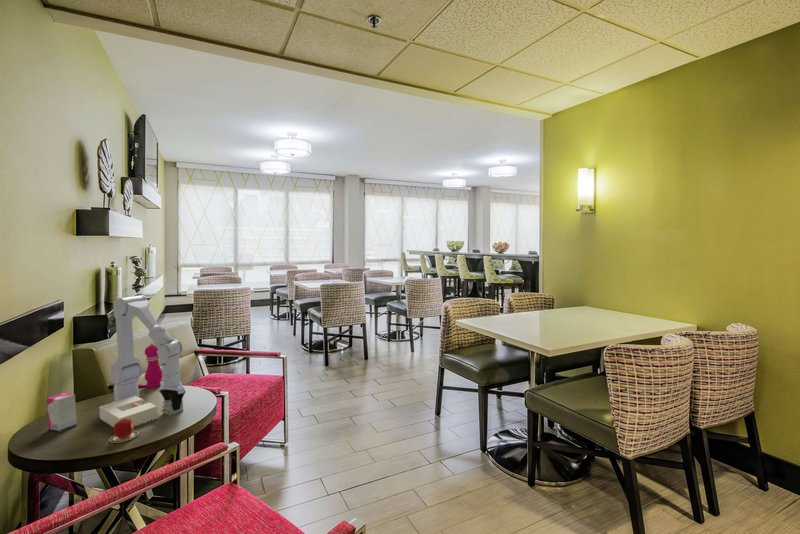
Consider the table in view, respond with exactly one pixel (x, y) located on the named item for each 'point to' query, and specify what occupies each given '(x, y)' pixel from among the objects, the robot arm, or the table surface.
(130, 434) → the red rounded piece
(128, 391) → the robot arm
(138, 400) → the socket housing
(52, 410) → the supplement box
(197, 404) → the table surface
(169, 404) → the plug
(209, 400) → the table surface
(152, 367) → the pepper mill
